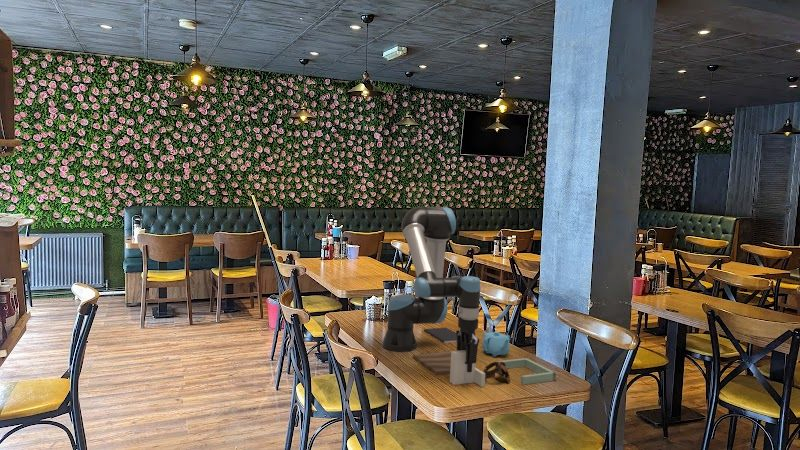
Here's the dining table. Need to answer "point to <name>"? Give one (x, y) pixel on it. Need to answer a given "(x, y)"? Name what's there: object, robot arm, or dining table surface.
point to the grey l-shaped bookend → (459, 367)
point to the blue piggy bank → (496, 343)
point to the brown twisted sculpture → (497, 370)
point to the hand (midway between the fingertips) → (465, 377)
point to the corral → (543, 372)
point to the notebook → (442, 334)
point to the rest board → (436, 362)
